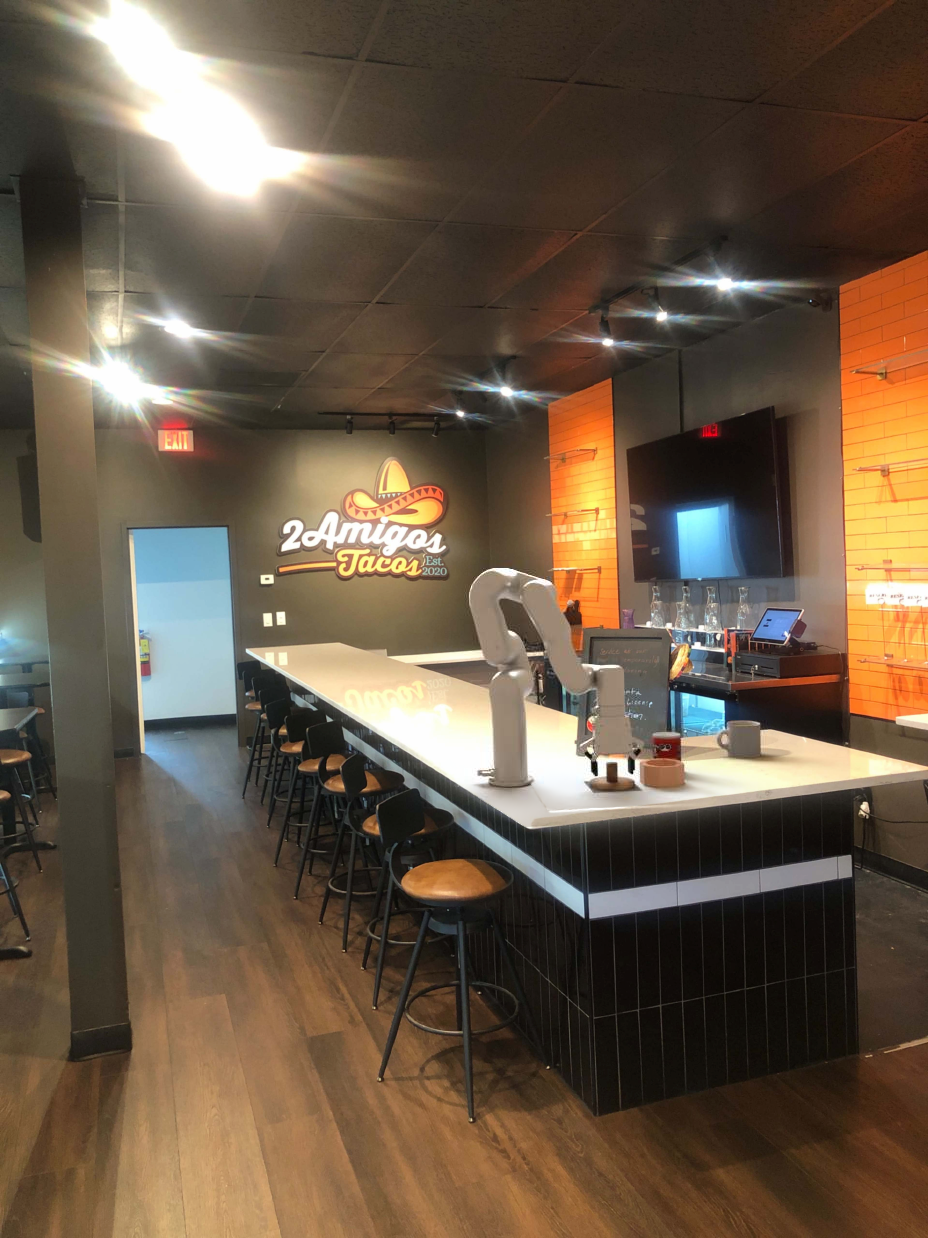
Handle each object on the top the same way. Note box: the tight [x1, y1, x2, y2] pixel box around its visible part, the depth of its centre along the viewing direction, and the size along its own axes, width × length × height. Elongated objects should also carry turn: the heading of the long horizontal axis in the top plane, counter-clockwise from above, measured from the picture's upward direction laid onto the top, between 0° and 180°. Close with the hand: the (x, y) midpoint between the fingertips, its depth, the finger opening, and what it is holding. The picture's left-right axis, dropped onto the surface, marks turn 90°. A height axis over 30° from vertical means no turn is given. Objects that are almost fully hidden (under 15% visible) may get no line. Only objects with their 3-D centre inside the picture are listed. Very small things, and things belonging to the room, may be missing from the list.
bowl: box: [639, 758, 686, 788], centre depth 245 cm, size 11×11×6 cm
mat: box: [583, 780, 643, 794], centre depth 243 cm, size 13×13×1 cm
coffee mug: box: [716, 720, 762, 759], centre depth 280 cm, size 13×10×10 cm
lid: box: [589, 761, 636, 792], centre depth 243 cm, size 12×12×6 cm
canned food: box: [652, 731, 682, 762], centre depth 260 cm, size 8×8×11 cm
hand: (613, 774), depth 242 cm, fingers open, 9 cm apart
